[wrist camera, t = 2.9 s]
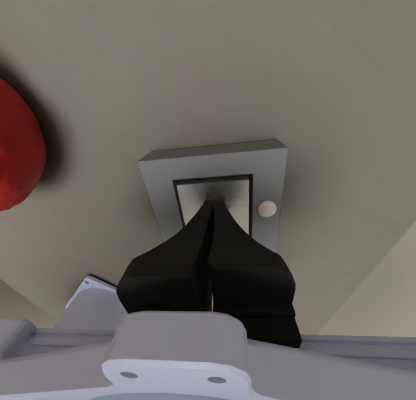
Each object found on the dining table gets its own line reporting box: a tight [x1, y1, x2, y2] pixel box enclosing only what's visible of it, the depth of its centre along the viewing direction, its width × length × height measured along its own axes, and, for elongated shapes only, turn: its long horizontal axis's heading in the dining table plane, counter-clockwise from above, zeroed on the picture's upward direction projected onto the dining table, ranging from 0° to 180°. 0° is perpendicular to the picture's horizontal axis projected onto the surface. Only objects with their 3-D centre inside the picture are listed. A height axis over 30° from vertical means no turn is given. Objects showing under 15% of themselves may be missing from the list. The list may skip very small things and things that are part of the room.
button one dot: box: [177, 174, 249, 235], centre depth 13 cm, size 5×5×2 cm
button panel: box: [138, 139, 288, 253], centre depth 16 cm, size 20×9×3 cm, turn 6°
